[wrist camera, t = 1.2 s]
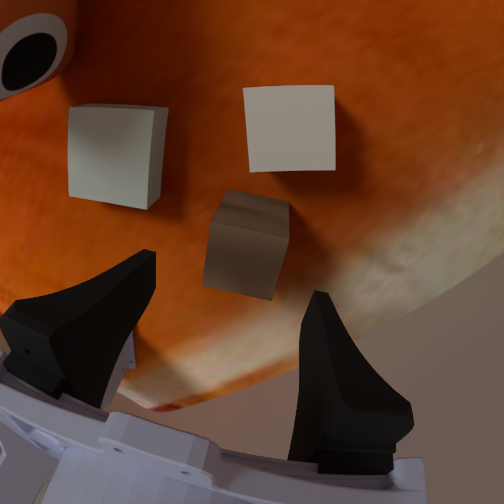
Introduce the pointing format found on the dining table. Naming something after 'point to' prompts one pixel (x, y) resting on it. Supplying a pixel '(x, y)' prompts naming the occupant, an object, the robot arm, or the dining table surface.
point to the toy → (34, 42)
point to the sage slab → (116, 153)
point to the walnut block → (247, 244)
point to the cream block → (290, 127)
